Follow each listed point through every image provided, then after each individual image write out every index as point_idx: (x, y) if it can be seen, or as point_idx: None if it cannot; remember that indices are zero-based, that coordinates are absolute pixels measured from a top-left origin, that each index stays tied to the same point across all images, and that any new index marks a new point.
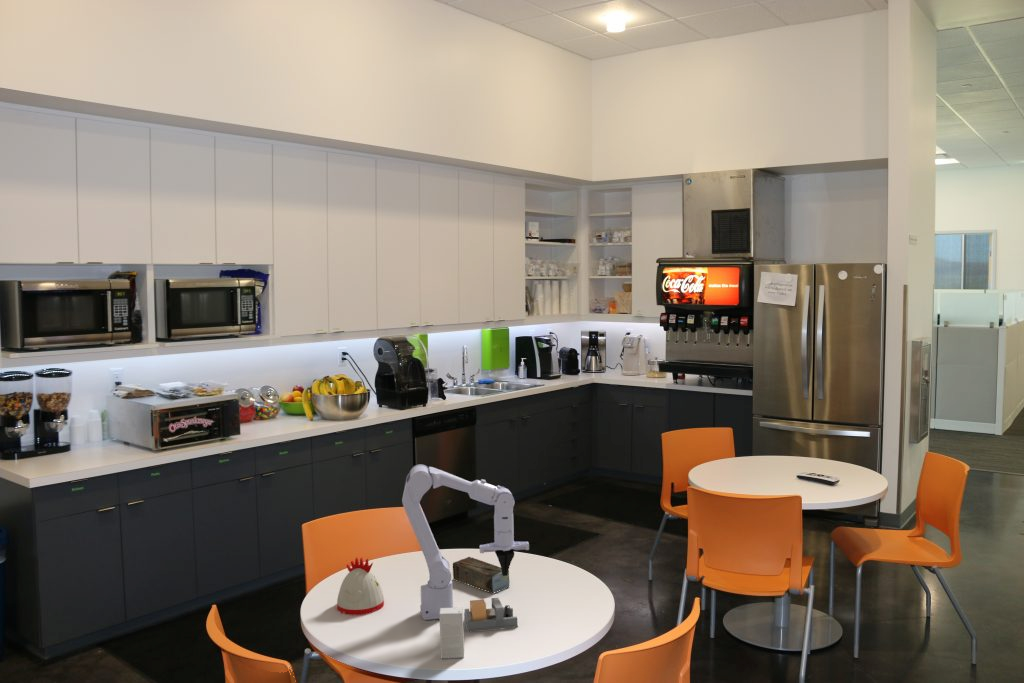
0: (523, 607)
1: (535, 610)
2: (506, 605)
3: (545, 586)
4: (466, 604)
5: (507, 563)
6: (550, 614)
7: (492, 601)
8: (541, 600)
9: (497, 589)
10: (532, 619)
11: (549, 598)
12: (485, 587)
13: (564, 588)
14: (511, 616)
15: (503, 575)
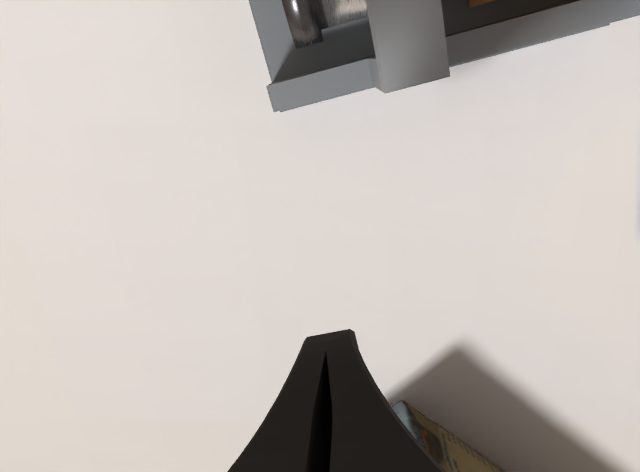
0: (228, 240)
1: (152, 198)
2: (305, 4)
3: (159, 465)
4: (551, 280)
5: (289, 441)
6: (47, 138)
7: (439, 17)
8: (146, 326)
9: None
10: (142, 55)
11: (110, 348)
12: (444, 440)
13: (66, 447)
14: (281, 70)
15: (349, 331)
